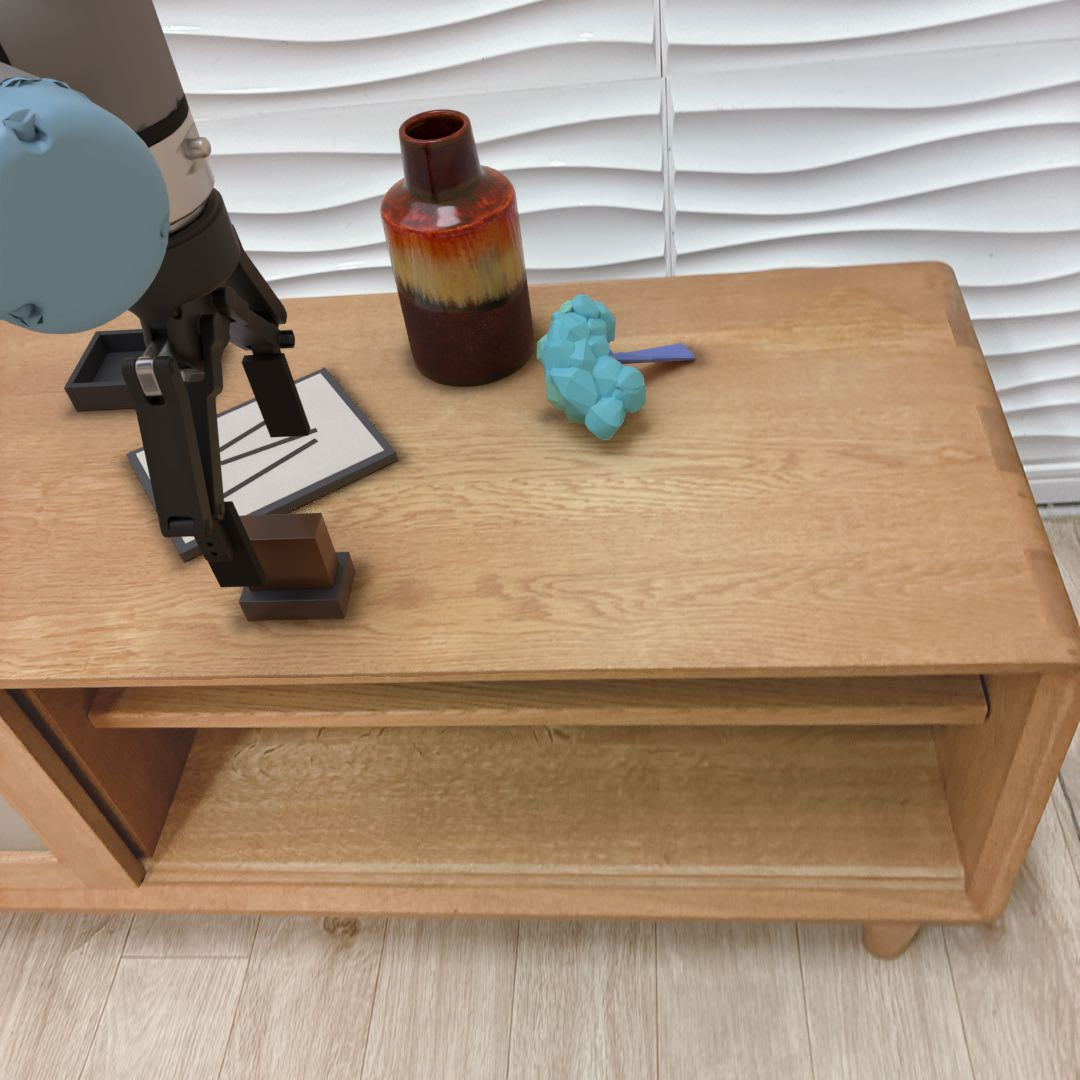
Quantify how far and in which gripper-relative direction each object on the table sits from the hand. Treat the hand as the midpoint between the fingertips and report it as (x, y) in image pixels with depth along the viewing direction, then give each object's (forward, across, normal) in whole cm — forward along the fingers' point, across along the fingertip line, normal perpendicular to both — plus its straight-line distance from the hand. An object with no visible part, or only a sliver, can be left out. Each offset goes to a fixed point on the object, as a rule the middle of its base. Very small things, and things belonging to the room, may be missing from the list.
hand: (268, 503), depth 70 cm
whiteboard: (+9, +14, +7) cm, 18 cm away
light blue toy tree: (+10, +19, -22) cm, 30 cm away
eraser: (+9, 0, 0) cm, 9 cm away
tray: (+9, +26, +20) cm, 34 cm away
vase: (+10, +28, -9) cm, 31 cm away
